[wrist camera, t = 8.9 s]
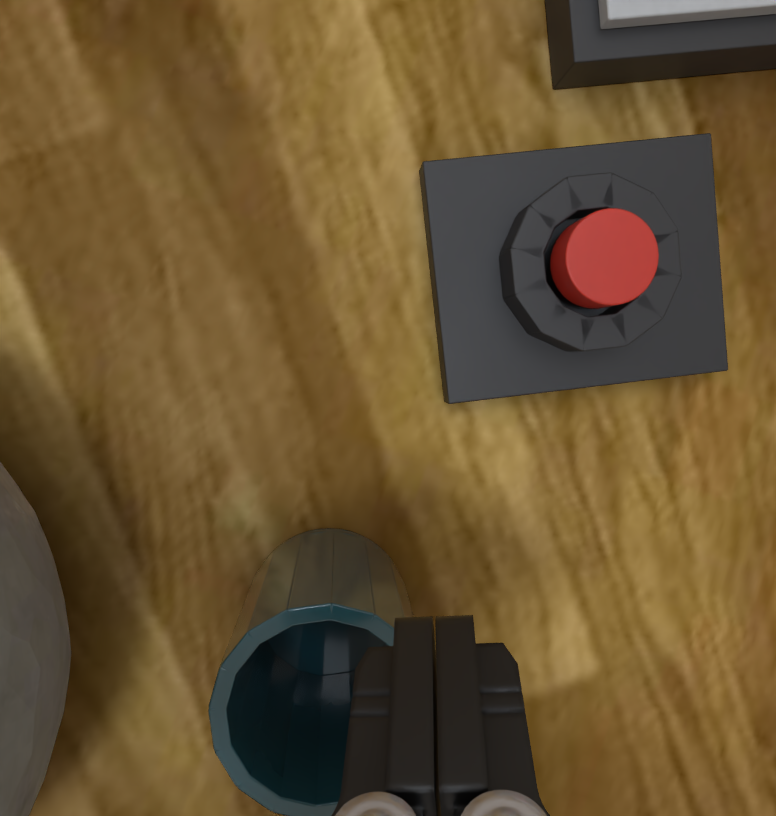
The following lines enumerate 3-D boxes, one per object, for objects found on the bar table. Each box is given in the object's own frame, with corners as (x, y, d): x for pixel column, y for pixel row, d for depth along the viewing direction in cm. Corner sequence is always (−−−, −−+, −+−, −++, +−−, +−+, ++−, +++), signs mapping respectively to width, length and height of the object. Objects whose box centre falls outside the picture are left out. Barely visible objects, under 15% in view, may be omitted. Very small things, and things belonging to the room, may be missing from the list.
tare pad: (694, 142, 27) (738, 116, 24) (712, 369, 28) (756, 371, 25) (418, 169, 27) (428, 146, 24) (443, 401, 27) (456, 407, 24)
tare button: (633, 213, 25) (655, 202, 23) (640, 303, 25) (663, 299, 23) (545, 222, 24) (561, 212, 23) (554, 313, 25) (569, 310, 23)
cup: (396, 518, 28) (421, 590, 19) (413, 667, 28) (445, 802, 20) (240, 539, 27) (195, 621, 19) (260, 689, 28) (225, 836, 19)
